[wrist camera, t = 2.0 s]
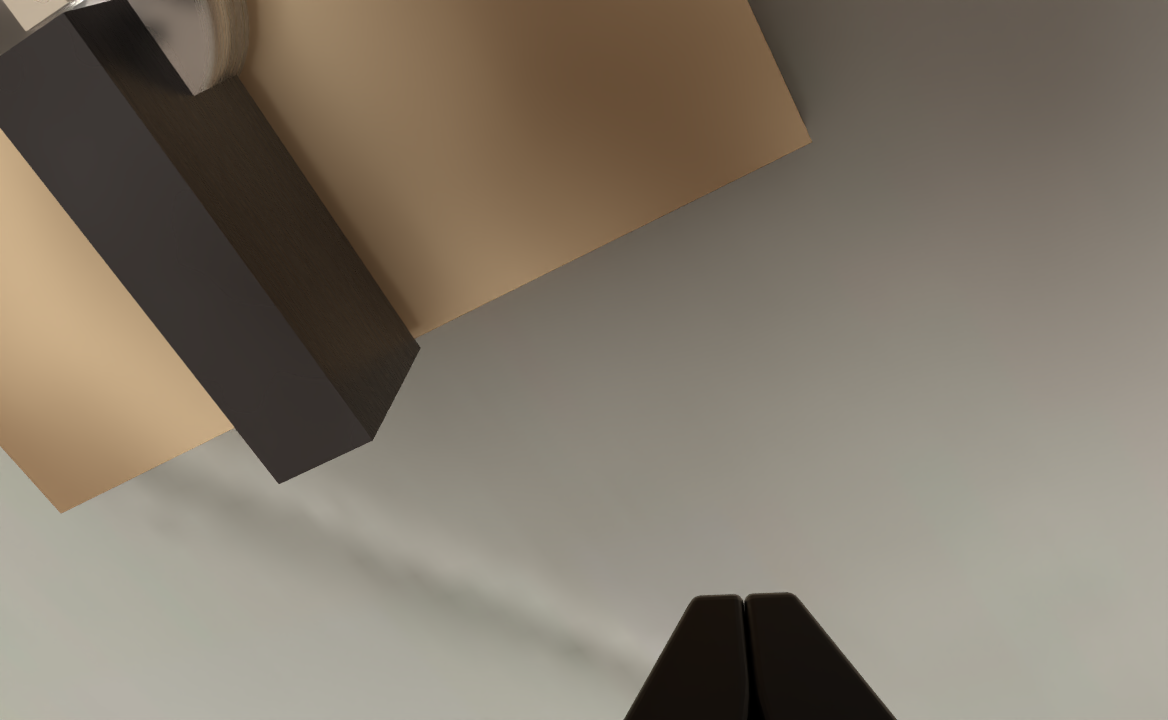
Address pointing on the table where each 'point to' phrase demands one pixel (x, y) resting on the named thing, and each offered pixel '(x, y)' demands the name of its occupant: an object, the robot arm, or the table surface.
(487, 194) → the tuner board
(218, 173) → the peg knob
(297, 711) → the table surface
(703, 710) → the robot arm
